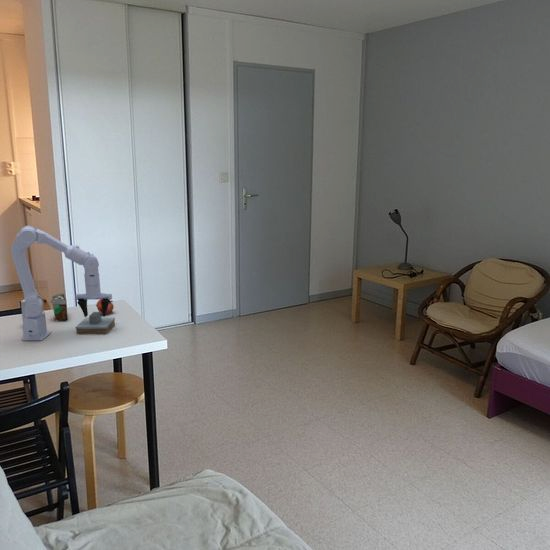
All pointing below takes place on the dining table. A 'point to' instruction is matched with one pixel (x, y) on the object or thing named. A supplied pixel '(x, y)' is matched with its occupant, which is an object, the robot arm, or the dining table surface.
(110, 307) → the pomegranate
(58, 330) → the dining table surface
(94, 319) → the lid
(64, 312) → the food container
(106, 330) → the wooden tray
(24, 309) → the supplement box
